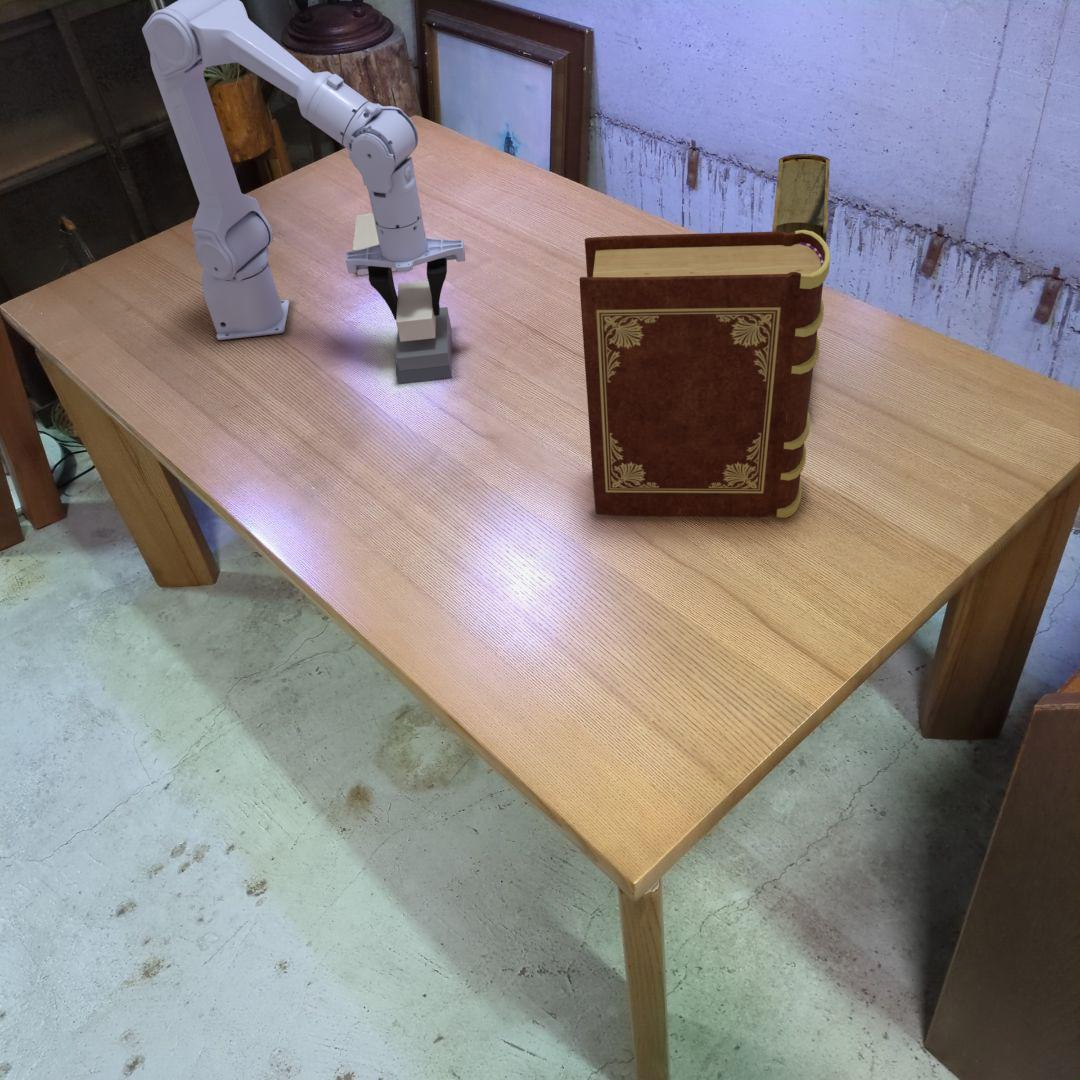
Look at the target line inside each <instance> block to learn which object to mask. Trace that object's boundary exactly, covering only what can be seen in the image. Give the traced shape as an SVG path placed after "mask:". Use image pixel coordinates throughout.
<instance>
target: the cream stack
mask: <svg viewBox="0 0 1080 1080" xmlns="http://www.w3.org/2000/svg"><path fill="white" fill-rule="evenodd" d="M378 244H379V240H378V235H377V230H376V226H375V221H374V216H373V212H370V213H362V214H356V216H355V224H354V232H353V241H352V250H351V251H357V250H361V249H364V248H368V247H371V246H375V245H378ZM391 269H392V273H393V272H397V271H396V268H391ZM356 274H357V276H365V275H369V272H368V269H363V270H358V271H357V273H356Z"/></svg>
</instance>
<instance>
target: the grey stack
mask: <svg viewBox="0 0 1080 1080" xmlns="http://www.w3.org/2000/svg"><path fill="white" fill-rule="evenodd" d="M452 331H453V330H452V325H451V319H450V314H449V309H448V306H444V307H440V315H438V316H436V336H435V338H431V339H421V340H412V341H403V342H400V338H399V333H398V330H397V333H396V352H395V362H396V363H395V374H396V379H397V383H398V385H399V384H409V383H418V382H429V381H437V380H447V379H453V361H452V360H453V359H452V358H453V354H452V353H453V342H452V341H453V340H452V339H453V338H452V337H453V334H452Z"/></svg>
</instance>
